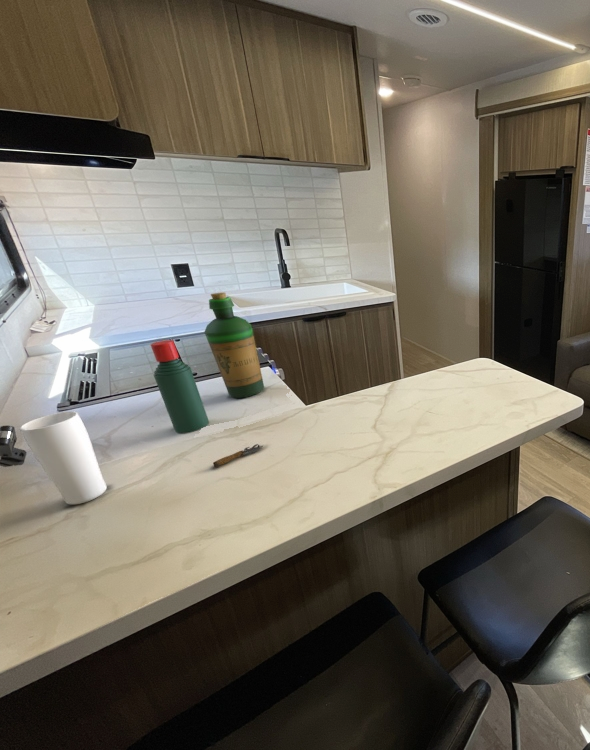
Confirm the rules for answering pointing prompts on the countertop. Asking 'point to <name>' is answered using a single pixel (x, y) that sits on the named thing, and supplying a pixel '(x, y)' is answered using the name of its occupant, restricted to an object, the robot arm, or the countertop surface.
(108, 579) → the countertop surface
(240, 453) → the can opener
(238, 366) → the bottle
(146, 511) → the countertop surface
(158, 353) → the cap
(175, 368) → the bottle
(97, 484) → the white cup
